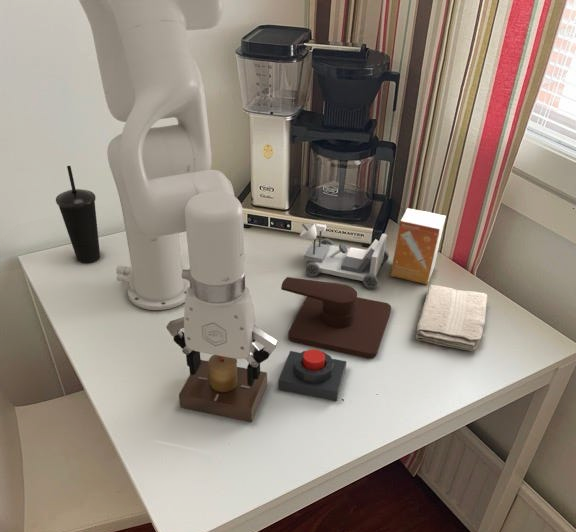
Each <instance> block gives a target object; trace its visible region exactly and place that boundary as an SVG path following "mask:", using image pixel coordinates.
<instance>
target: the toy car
mask: <svg viewBox="0 0 576 532" xmlns="http://www.w3.org/2000/svg"><path fill="white" fill-rule="evenodd" d="M301 226H302V227H303V228H304V229H303V230H302V231H301V233H300V234H299V237H301V238H303V239H305V240H309V241H312V242H311V243H310V245H309V247H308V248H307V250H306V252H305V253H304V255H303V260H304V261H310V262H308V263H307V264H306V266H305V269H304V270H305V273H306V275H307V276H309V277H312V278H313V277H318V275H319V274H320V273H322V274H327V275H331V276H332V275H333V276H336V277H341V278H346V279H351V280H356V281H361V282H362V284H363V286H364V287H365V288H367V289H370V290H371V289H372V290H373V289H375V288H377V286H378V284H379V279H378V277H377V275H378V272H379V270H380V268H381V266H382V264H384V263H386V262H388V260H389V258H390V254H389V252H388V251H387V250H386V246H387V245H386V244H387V239H388V238H387V237H388V234H387V233H382V234H381V236H380V238H379V240H378V239H376V238H375V240H373V241H372V243H371V244H370V245H369V246H368V248H367V249H362V248H357V247H352V246H351V247H350V248H348V247H347V246H346V244H345V243H341V244H339V245H335V244H334V241H333V240H331V239H330V238H323V239H322V232H326V230H327V224H321V223H315V222H312V223H311V224H309V225H308V226H306V224H304V223H302V224H301ZM317 231H319V233H318V232H317ZM317 233H318V234H317ZM317 235H319V237H318V242H317Z"/></svg>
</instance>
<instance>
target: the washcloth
mask: <svg viewBox="0 0 576 532" xmlns="http://www.w3.org/2000/svg"><path fill="white" fill-rule="evenodd" d="M487 304H488V294H487V293H485V292H479V291H473V290H463V289H461V290H459V289H455V288H452V287H448V286H442V285H437V284H436V285H435V284H430V285H428V288H427V292H426V295H425V300H424V303H423V305H422V309H421V314H420V316H419V319H418V322H417V326H416V334H415V340H417V341H421V342H426V343H429V344H434V345H438V346H443V347H448V348H454V349H457V350H463V351H472V352H475V351H476V350H477V349H478V347H479V345H480V341H481V339H482V337H483V332H484V327H485V324H486V314H487Z"/></svg>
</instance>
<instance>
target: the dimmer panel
mask: <svg viewBox="0 0 576 532" xmlns="http://www.w3.org/2000/svg"><path fill="white" fill-rule="evenodd" d="M237 379H238V383H237V386H236V387H235V388H234V389H233V390H231V391H228V392H219V391H216V390H214V389H213V388H212V387H211V385H210V374H209V360H204V359H201V365H200V366H199V368H198V370H197V372H196V373H195V374H194V375H191V374H190V373H189V375H188V378H187V379H186V380H185V383H184V384H183V386H182V388H181V390H180V392H179V393H178V401H179V408H180V409H184V410H190V411H193V412H198V413H204V414H209V415H214V416H218V417H223V418H229V419H233V420H238V421H242V422H247V423H252V422H253V420H254V418H255V416H256V414H257V411H258V409H259V406H260V404H261V401H262V399H263V398H264V397H263V396H264V395H265V392H266V389H267V387H268V372H267V371H263V370H262V371H261V370H260V376H259V378H258V379H255V381H254V383H253V385H252V386H249V385H248V384H247V367H246V368H245V367H242V366H241V367H240V366H237Z"/></svg>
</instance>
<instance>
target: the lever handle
mask: <svg viewBox="0 0 576 532" xmlns="http://www.w3.org/2000/svg"><path fill="white" fill-rule="evenodd" d="M280 290H282V291H285V292H288V293H292V294H296V295H300V296H302V297H303V296H304V297H305V299H304V301H303V303H302V305H301V307H300V309H299V311H298V312H297V314H296V317H295V318H294V320H293V322H292V324H291V326H290V328H289V330H288V335H287V336H288V338H287V339H288V341H289V342H292V343H295V344H298V345H303V346H309V347H313V348H316V349H322V350H326V351H331V352H336V353H341V354H345V355H349V356H354V357H359V358H364V359H375V358H376V357H377V355H378V352H379V349H380V347H381V343H382V341H383V337H384V334H385V331H386V328H387V325H388V321H389V318H390V315H391V311H392V306H391V304H390V303H388V302H384V301H380V300H374V299H369V298H364V297H359V296H358V292H357V290H356V289H355V288H354V287H352V286H351V285H348V284H345V283H340V282H339V283H338V282H329V281H322V280H315V279H306V278H300V277H299V278H298V277H291V276H287V277H286V278H284V280H283V281H282V282H281V286H280Z"/></svg>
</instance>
